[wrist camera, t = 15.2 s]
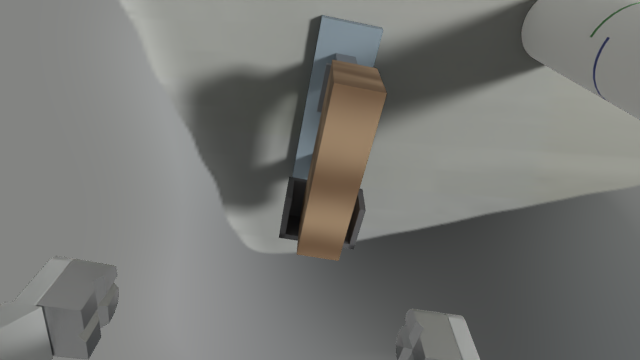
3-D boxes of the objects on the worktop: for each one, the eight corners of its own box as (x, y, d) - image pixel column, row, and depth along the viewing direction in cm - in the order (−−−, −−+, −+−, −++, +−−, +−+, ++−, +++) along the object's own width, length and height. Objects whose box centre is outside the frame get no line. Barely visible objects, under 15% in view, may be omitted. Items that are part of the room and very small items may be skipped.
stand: (317, 14, 39) (314, 44, 28) (386, 28, 40) (410, 63, 29) (288, 171, 48) (278, 241, 37) (345, 181, 49) (352, 253, 38)
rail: (332, 59, 32) (334, 83, 27) (377, 68, 32) (387, 93, 27) (300, 212, 39) (296, 254, 34) (336, 218, 40) (338, 260, 34)
